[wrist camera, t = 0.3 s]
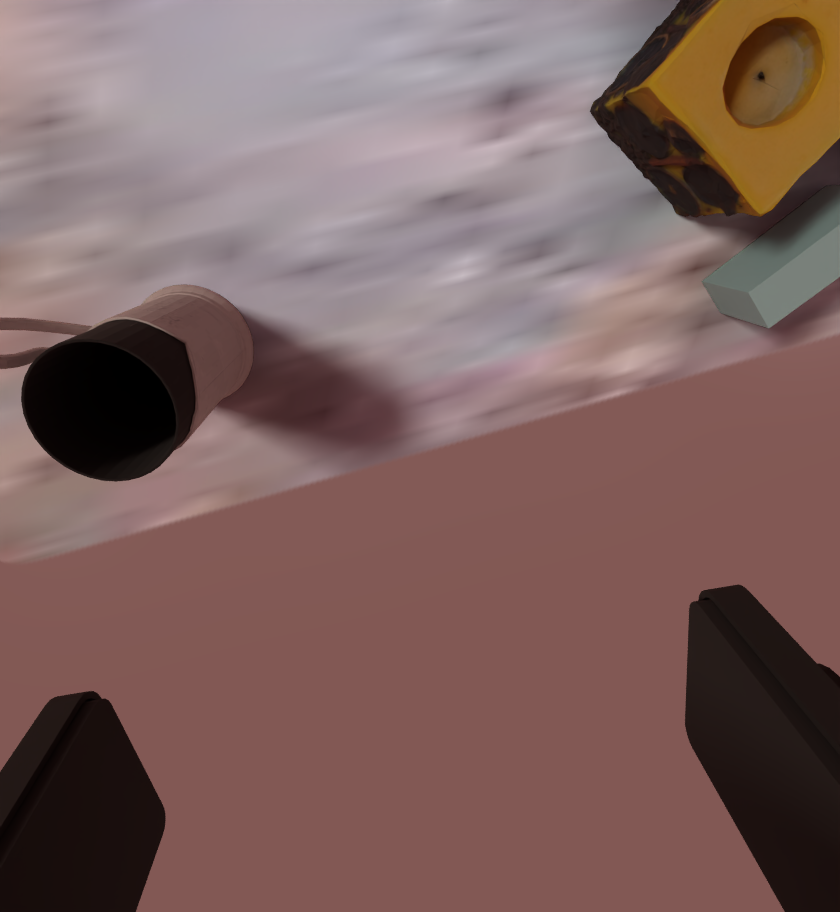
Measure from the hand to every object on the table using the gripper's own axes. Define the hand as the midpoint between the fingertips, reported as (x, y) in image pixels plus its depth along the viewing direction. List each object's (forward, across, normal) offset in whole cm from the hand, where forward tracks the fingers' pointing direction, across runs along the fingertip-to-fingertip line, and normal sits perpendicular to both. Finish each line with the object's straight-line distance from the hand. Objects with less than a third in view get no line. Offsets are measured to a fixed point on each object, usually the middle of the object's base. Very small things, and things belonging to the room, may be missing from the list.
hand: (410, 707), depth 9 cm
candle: (+36, -22, -10) cm, 44 cm away
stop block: (+36, -28, 0) cm, 46 cm away
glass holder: (+36, +17, -2) cm, 40 cm away
